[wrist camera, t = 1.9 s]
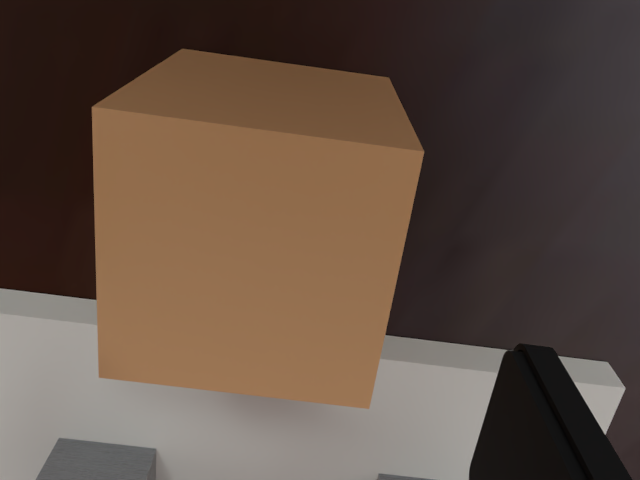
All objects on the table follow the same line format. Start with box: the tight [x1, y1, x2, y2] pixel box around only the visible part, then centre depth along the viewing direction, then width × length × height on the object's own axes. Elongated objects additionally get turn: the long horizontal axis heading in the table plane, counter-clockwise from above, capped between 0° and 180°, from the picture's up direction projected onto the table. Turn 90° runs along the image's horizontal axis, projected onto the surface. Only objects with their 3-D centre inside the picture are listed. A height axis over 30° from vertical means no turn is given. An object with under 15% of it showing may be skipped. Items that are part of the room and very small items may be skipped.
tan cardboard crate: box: [92, 49, 424, 409], centre depth 16 cm, size 6×6×8 cm
